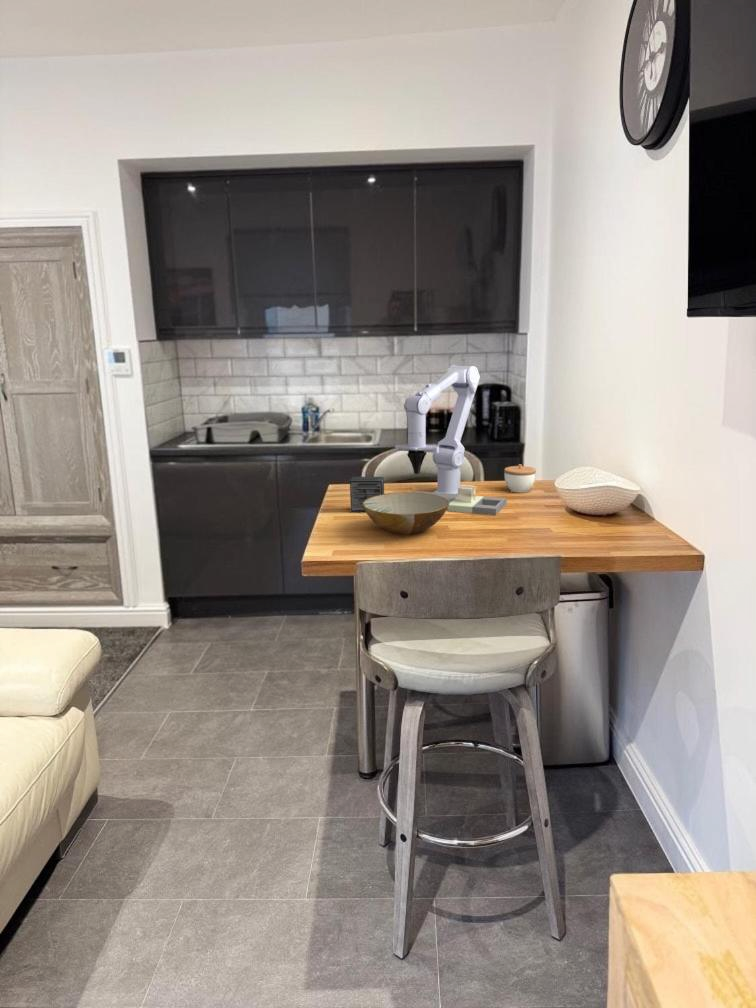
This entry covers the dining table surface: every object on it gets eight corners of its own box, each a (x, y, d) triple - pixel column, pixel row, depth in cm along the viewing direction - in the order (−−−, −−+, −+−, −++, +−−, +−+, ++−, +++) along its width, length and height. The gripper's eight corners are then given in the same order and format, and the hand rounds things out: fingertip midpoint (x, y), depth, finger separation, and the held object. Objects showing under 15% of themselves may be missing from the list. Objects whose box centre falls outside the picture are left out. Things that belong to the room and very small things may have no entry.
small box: (385, 507, 234) (384, 475, 232) (383, 512, 228) (382, 480, 225) (352, 507, 235) (352, 475, 233) (350, 512, 229) (349, 480, 227)
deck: (413, 496, 247) (413, 490, 247) (506, 504, 235) (506, 498, 235) (399, 506, 235) (398, 500, 234) (495, 515, 223) (496, 508, 222)
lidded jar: (497, 489, 256) (498, 463, 253) (522, 485, 260) (523, 460, 258) (515, 495, 246) (516, 468, 244) (541, 492, 251) (542, 465, 248)
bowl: (459, 538, 200) (459, 511, 198) (369, 545, 196) (369, 516, 194) (437, 515, 224) (437, 490, 222) (357, 520, 220) (356, 494, 218)
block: (461, 498, 236) (461, 485, 235) (475, 499, 234) (475, 486, 233) (457, 501, 232) (457, 488, 231) (471, 502, 230) (471, 489, 229)
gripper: (391, 433, 235) (392, 474, 239) (434, 435, 230) (434, 477, 233) (399, 430, 242) (399, 470, 245) (440, 432, 236) (440, 472, 239)
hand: (417, 473), depth 239 cm, fingers closed
